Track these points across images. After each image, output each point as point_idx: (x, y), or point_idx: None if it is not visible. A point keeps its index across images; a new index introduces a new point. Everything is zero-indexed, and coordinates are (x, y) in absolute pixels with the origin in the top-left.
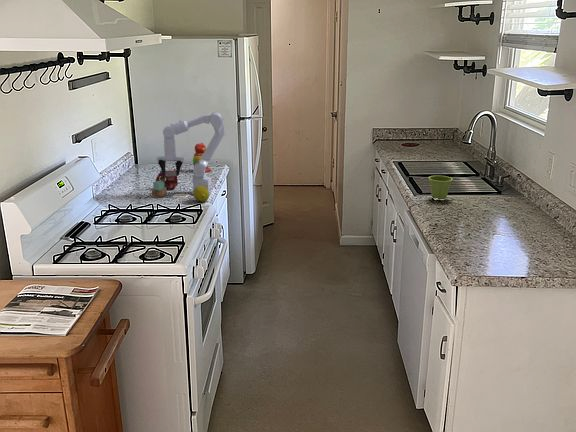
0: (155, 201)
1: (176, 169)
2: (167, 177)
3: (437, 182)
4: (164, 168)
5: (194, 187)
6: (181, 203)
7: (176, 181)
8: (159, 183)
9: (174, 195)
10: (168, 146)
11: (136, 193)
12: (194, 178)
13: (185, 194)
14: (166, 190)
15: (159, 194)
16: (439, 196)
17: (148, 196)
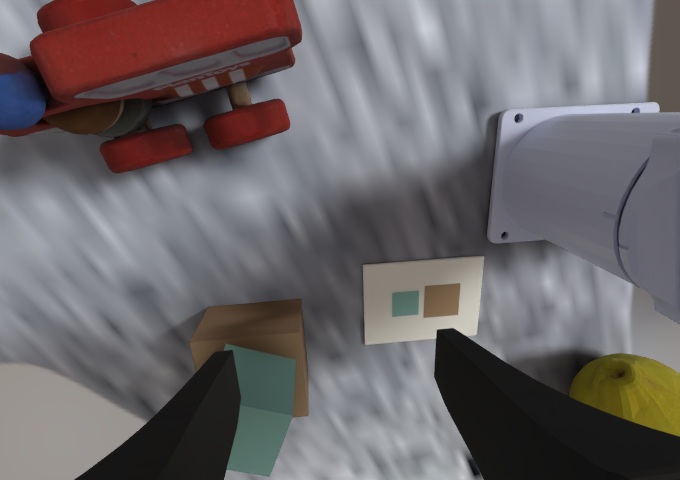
0: (301, 448)
1: (483, 473)
2: (151, 90)
3: None
4: (206, 440)
5: (548, 239)
6: None
7: (283, 62)
8: (273, 460)
9: (371, 310)
10: None
11: (21, 317)
12: (633, 284)
13: (446, 265)
14: (300, 325)
15: None
16: None
17: (181, 366)
